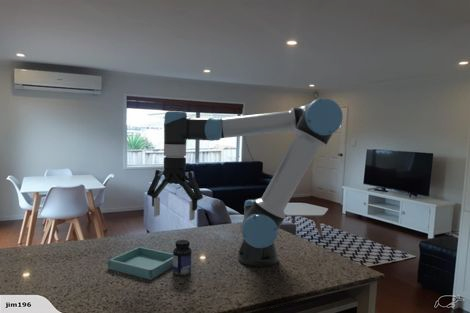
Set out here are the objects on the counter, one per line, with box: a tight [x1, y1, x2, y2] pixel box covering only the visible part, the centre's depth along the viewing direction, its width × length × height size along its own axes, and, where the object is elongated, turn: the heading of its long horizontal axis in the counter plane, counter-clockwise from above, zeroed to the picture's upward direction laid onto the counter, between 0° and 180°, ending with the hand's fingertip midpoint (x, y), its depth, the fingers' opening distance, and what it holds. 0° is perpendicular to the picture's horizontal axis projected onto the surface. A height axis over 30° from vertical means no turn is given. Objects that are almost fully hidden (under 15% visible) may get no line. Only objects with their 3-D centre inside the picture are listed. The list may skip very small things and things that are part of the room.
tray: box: [107, 246, 173, 281], centre depth 122 cm, size 18×16×3 cm
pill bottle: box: [172, 239, 192, 278], centre depth 116 cm, size 6×6×11 cm
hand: (174, 217), depth 120 cm, fingers open, 13 cm apart
